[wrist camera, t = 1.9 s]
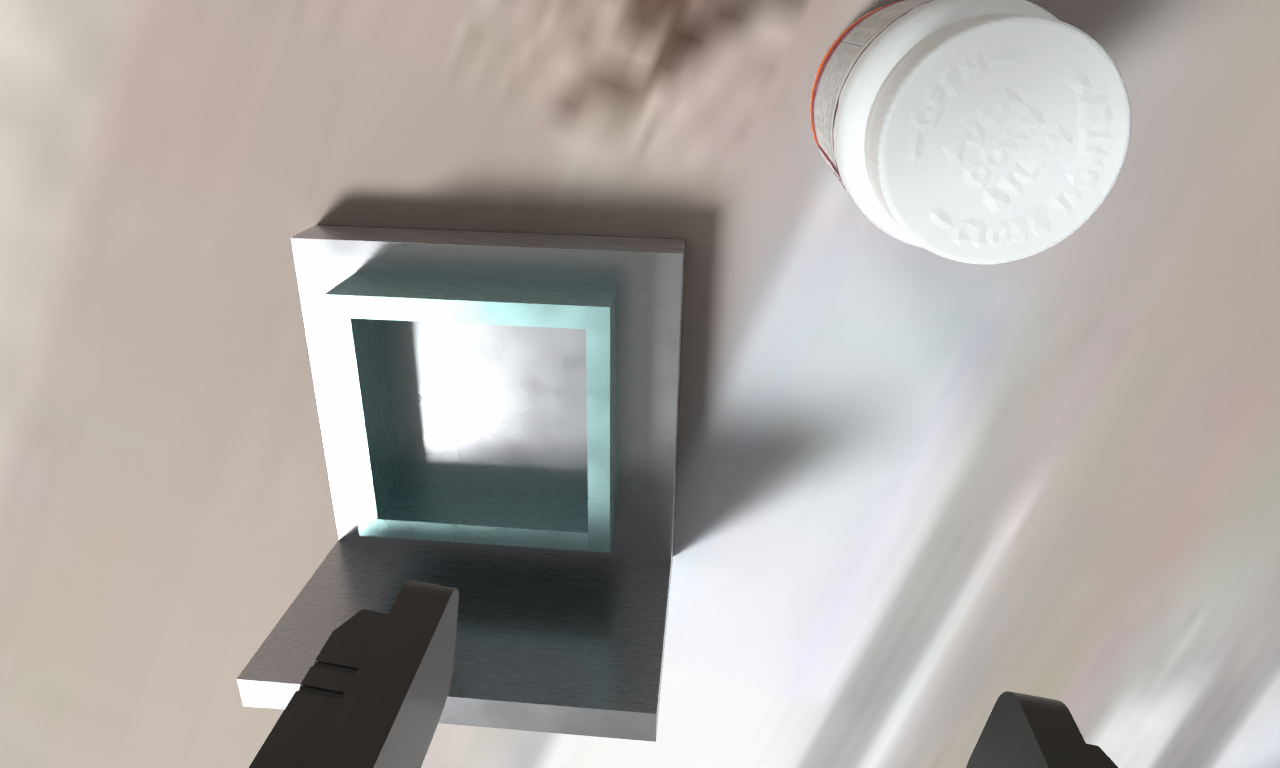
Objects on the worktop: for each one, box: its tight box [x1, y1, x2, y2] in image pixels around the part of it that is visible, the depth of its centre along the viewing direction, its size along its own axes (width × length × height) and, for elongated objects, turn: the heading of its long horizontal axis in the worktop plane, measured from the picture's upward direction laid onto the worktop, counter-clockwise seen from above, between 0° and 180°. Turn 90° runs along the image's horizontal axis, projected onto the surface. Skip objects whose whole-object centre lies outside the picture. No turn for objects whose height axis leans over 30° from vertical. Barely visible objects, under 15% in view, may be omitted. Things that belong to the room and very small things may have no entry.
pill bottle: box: [810, 0, 1131, 264], centre depth 22 cm, size 6×6×11 cm
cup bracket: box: [237, 225, 685, 741], centre depth 29 cm, size 14×14×10 cm
